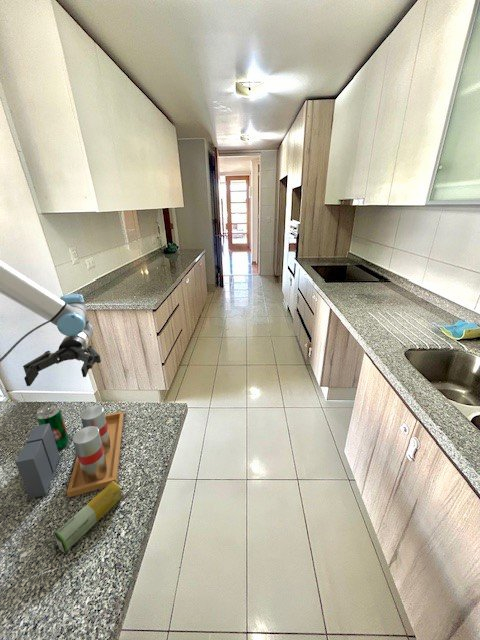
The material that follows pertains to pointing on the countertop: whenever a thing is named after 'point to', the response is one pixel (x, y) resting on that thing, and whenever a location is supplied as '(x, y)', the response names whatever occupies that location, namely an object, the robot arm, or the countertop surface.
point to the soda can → (54, 423)
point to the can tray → (112, 458)
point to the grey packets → (38, 460)
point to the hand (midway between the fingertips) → (56, 377)
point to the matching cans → (92, 444)
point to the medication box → (87, 516)
